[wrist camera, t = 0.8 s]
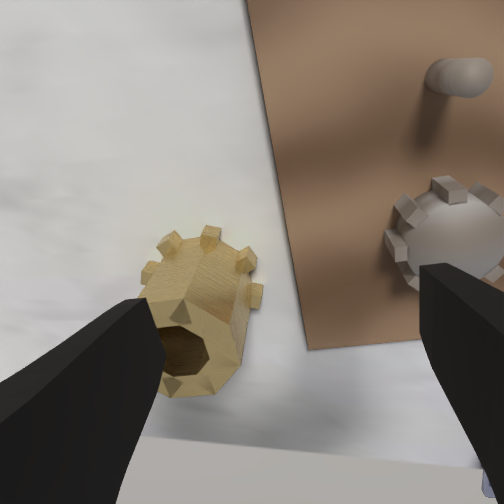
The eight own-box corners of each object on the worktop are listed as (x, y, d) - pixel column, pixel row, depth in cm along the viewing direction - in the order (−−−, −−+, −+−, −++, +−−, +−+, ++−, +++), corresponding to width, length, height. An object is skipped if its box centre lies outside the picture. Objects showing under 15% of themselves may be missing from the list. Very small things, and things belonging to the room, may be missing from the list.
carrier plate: (575, 313, 20) (633, 364, 17) (308, 341, 22) (311, 390, 19) (675, -222, 12) (832, -339, 8) (232, -89, 14) (214, -138, 11)
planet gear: (270, 318, 22) (264, 400, 17) (168, 330, 23) (131, 411, 18) (248, 218, 19) (232, 277, 14) (134, 236, 20) (79, 298, 15)
